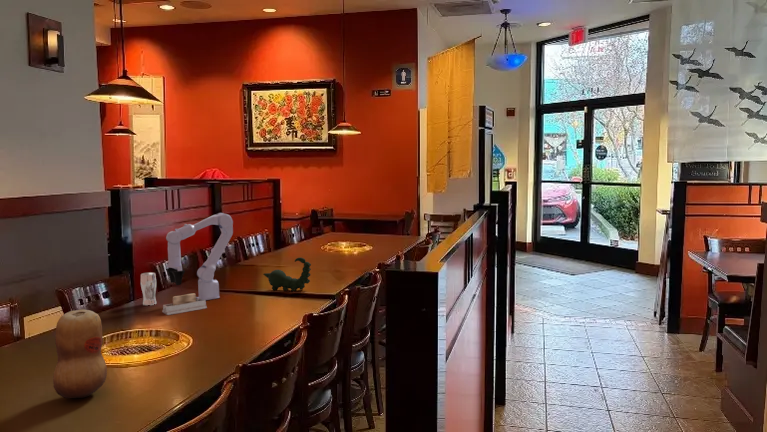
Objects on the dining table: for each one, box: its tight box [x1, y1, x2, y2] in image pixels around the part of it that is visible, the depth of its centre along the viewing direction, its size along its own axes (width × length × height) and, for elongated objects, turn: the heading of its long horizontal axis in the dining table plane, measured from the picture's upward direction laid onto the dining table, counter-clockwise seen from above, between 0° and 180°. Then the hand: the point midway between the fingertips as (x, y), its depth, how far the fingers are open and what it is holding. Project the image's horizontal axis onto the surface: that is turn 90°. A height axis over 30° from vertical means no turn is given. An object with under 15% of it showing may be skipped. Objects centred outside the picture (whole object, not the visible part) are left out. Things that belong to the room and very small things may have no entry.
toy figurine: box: [262, 257, 312, 292], centre depth 288 cm, size 9×19×25 cm
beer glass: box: [140, 271, 157, 307], centre depth 263 cm, size 7×7×15 cm
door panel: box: [172, 293, 197, 305], centre depth 252 cm, size 10×2×6 cm, turn 129°
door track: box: [161, 298, 208, 316], centre depth 252 cm, size 18×7×4 cm, turn 129°
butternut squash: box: [52, 309, 108, 399], centre depth 157 cm, size 14×13×25 cm
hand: (175, 283), depth 266 cm, fingers open, 7 cm apart
